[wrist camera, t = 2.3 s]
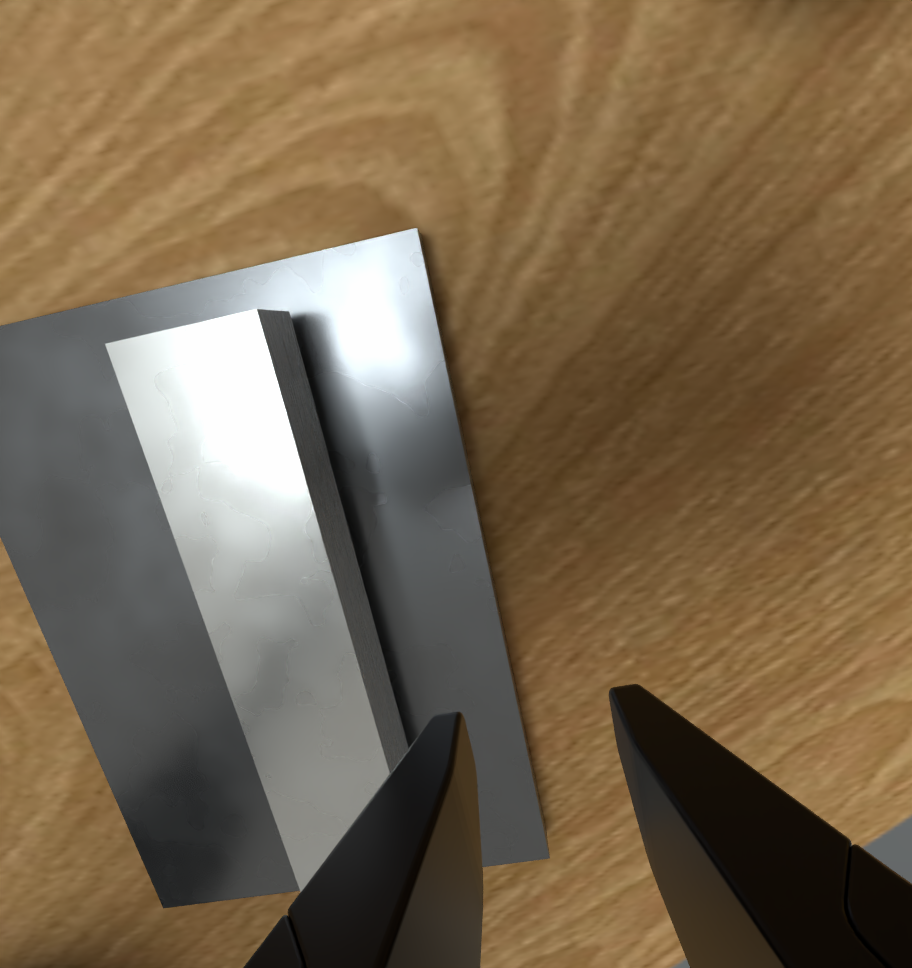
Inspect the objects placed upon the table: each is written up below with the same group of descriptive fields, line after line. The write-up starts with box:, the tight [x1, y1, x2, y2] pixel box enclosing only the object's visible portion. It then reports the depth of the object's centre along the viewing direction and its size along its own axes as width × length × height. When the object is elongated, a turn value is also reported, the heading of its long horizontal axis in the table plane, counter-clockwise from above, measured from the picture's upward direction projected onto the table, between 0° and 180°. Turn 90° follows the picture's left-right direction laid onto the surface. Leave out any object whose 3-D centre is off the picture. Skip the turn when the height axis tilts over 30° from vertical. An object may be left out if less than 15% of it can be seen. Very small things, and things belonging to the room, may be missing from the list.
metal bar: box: [105, 309, 409, 892], centre depth 18 cm, size 22×4×3 cm, turn 12°
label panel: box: [0, 228, 550, 908], centre depth 21 cm, size 23×16×1 cm
